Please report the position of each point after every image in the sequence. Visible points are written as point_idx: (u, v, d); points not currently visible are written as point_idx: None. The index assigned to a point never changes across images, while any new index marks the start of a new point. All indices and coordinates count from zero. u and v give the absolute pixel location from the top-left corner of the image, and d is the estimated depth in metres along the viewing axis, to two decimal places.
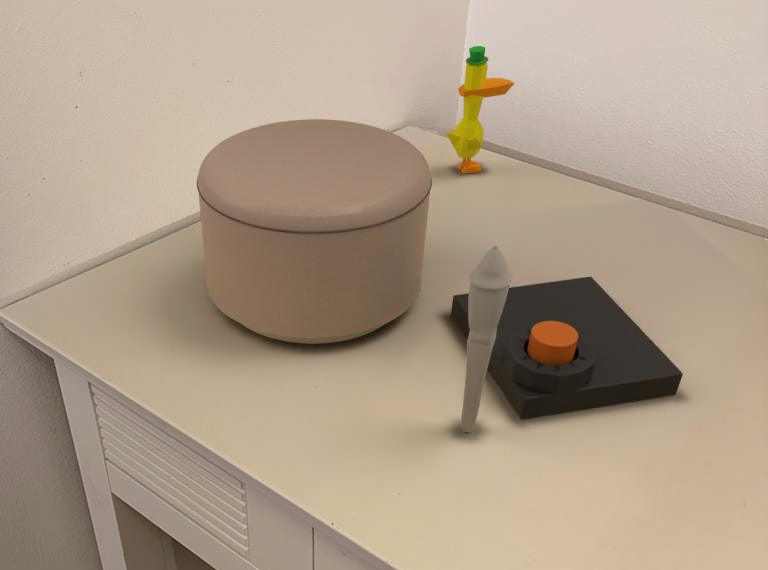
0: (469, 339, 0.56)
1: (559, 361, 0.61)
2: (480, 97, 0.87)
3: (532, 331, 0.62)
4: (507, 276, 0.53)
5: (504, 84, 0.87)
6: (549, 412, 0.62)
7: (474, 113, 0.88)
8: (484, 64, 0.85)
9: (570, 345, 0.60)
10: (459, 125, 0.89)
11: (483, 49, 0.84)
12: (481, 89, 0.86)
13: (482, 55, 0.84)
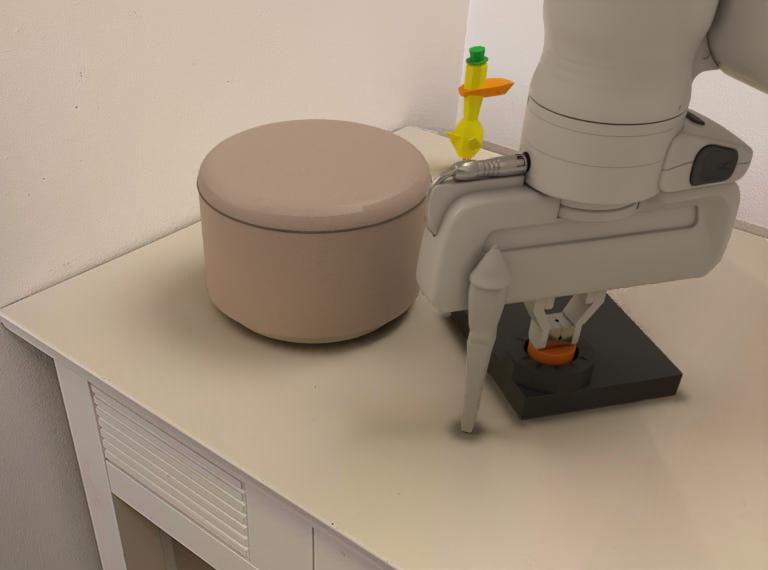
0: (469, 339, 0.56)
1: None
2: (480, 97, 0.87)
3: None
4: (507, 276, 0.53)
5: (504, 84, 0.87)
6: (549, 412, 0.62)
7: (474, 113, 0.88)
8: (484, 64, 0.85)
9: (567, 354, 0.61)
10: (459, 125, 0.89)
11: (483, 49, 0.84)
12: (481, 89, 0.86)
13: (482, 55, 0.84)
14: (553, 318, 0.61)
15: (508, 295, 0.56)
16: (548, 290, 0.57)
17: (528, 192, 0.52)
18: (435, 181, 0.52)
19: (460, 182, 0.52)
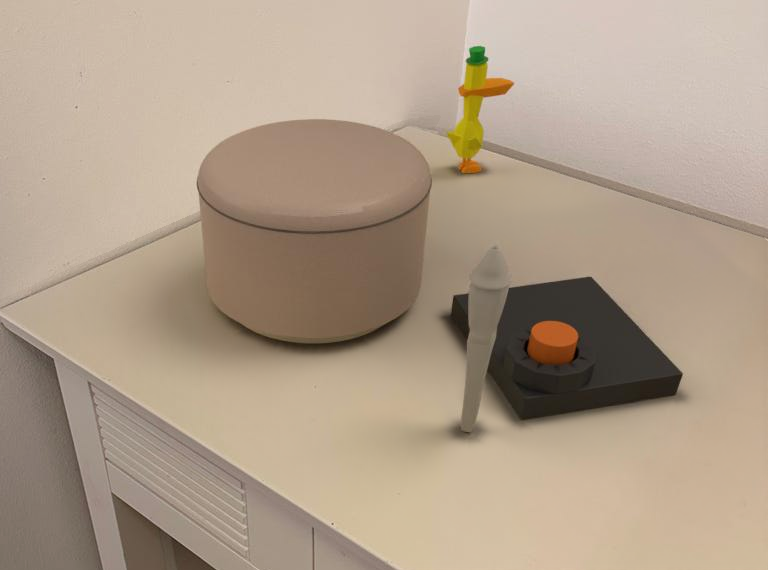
0: (469, 339, 0.56)
1: (559, 361, 0.61)
2: (480, 97, 0.87)
3: (532, 331, 0.62)
4: (507, 276, 0.53)
5: (504, 84, 0.87)
6: (549, 412, 0.62)
7: (474, 113, 0.88)
8: (484, 64, 0.85)
9: (570, 345, 0.60)
10: (459, 125, 0.89)
11: (483, 49, 0.84)
12: (481, 89, 0.86)
13: (482, 55, 0.84)
14: None
15: None
16: None
17: None
18: None
19: None
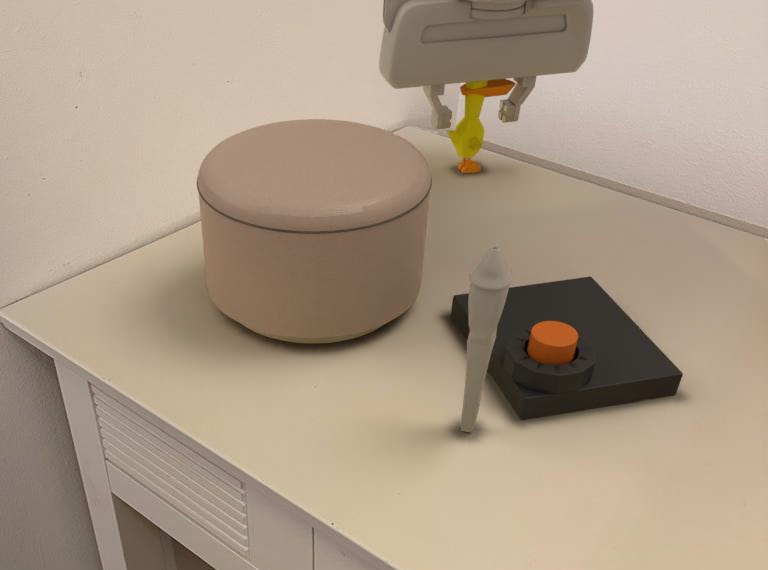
0: (469, 339, 0.56)
1: (559, 361, 0.61)
2: (482, 96, 0.87)
3: (532, 331, 0.62)
4: (507, 276, 0.53)
5: (506, 84, 0.87)
6: (549, 412, 0.62)
7: (475, 113, 0.88)
8: None
9: (570, 345, 0.60)
10: (460, 124, 0.89)
11: None
12: (483, 88, 0.86)
13: None
14: (447, 107, 0.88)
15: (440, 77, 0.84)
16: (467, 74, 0.84)
17: None
18: None
19: None
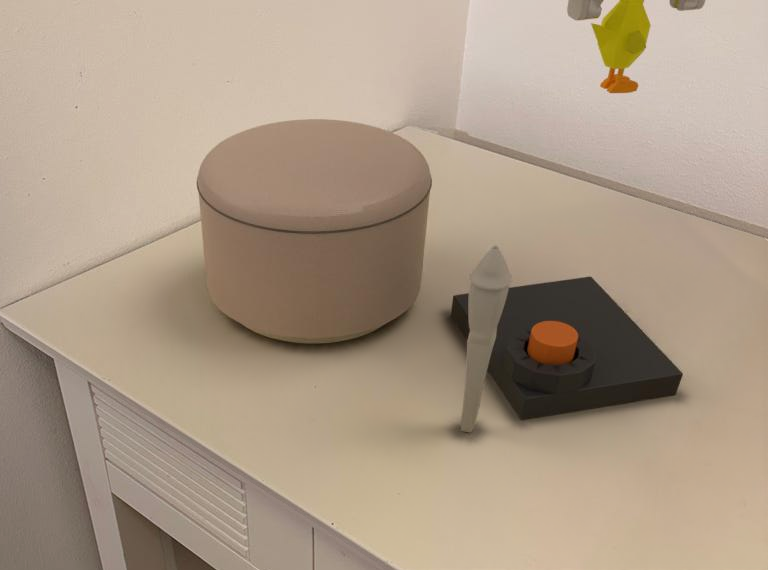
0: (469, 339, 0.56)
1: (559, 361, 0.61)
2: None
3: (532, 331, 0.62)
4: (507, 276, 0.53)
5: None
6: (549, 412, 0.62)
7: None
8: None
9: (570, 345, 0.60)
10: (613, 13, 0.57)
11: None
12: None
13: None
14: None
15: None
16: None
17: None
18: None
19: None
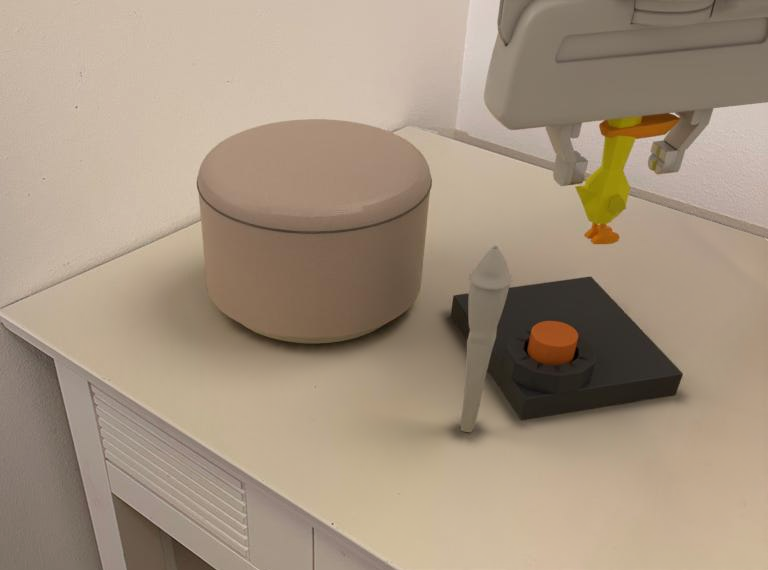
0: (469, 339, 0.56)
1: (559, 361, 0.61)
2: (632, 138, 0.59)
3: (532, 331, 0.62)
4: (507, 276, 0.53)
5: (668, 120, 0.59)
6: (549, 412, 0.62)
7: (620, 161, 0.60)
8: None
9: (570, 345, 0.60)
10: (595, 177, 0.61)
11: None
12: (636, 127, 0.58)
13: None
14: (578, 154, 0.60)
15: (578, 112, 0.56)
16: (617, 108, 0.56)
17: None
18: None
19: None
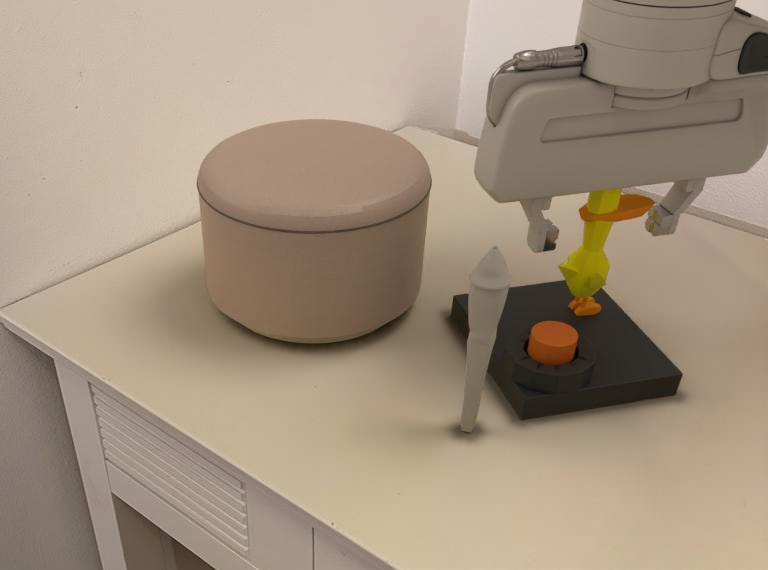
0: (469, 339, 0.56)
1: (559, 361, 0.61)
2: (610, 223, 0.63)
3: (532, 331, 0.62)
4: (507, 276, 0.53)
5: (643, 205, 0.63)
6: (549, 412, 0.62)
7: (599, 243, 0.64)
8: None
9: (570, 345, 0.60)
10: (576, 256, 0.66)
11: None
12: (613, 213, 0.62)
13: None
14: (550, 222, 0.64)
15: (563, 186, 0.59)
16: (600, 182, 0.60)
17: (585, 81, 0.55)
18: (498, 70, 0.55)
19: (521, 71, 0.55)
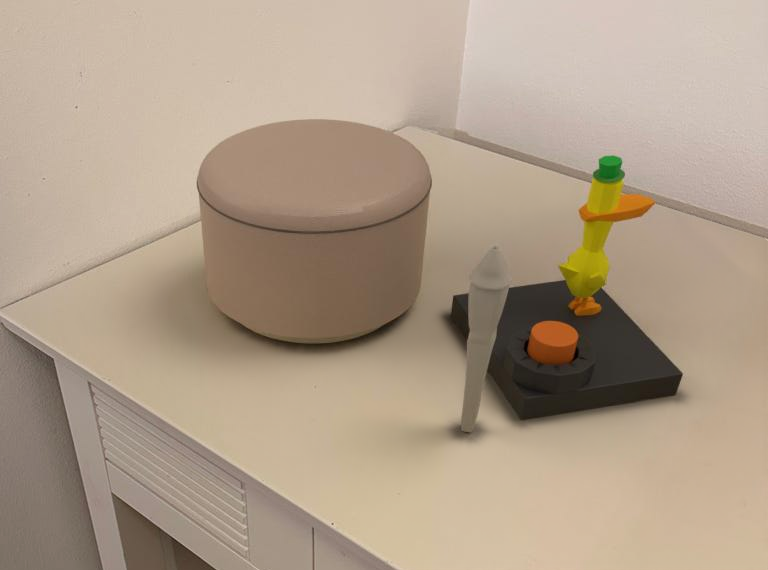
0: (469, 339, 0.56)
1: (559, 361, 0.61)
2: (610, 223, 0.63)
3: (532, 331, 0.62)
4: (507, 276, 0.53)
5: (643, 205, 0.63)
6: (549, 412, 0.62)
7: (599, 243, 0.64)
8: (619, 181, 0.61)
9: (570, 345, 0.60)
10: (576, 256, 0.66)
11: (619, 161, 0.61)
12: (613, 213, 0.62)
13: (617, 169, 0.61)
14: None
15: None
16: None
17: None
18: None
19: None
